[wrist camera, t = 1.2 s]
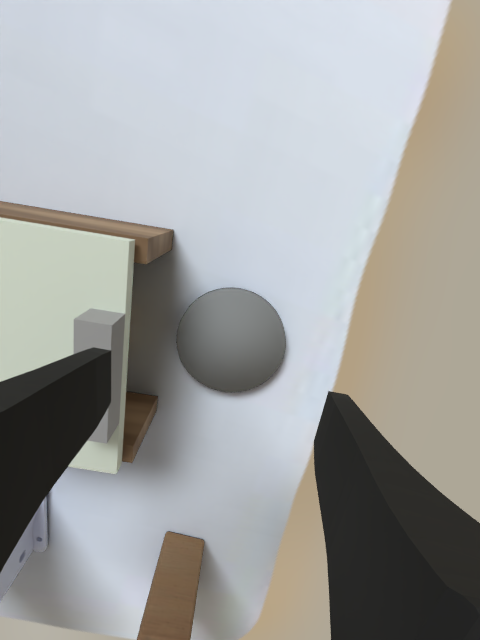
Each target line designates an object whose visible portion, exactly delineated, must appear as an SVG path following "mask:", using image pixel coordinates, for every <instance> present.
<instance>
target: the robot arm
mask: <svg viewBox="0 0 480 640" xmlns="http://www.w3.org/2000/svg"><path fill="white" fill-rule="evenodd" d="M110 403H111V350H105V349H100V348H95V347H93V348H90V349H86V350H84V351H81V352H78V353H75V354H73V355H70V356H68V357H65V358H63V359H60V360H58V361H55V362H53V363H50V364H47V365H45V366H42V367H40V368H37V369H35V370H32V371H29V372H26V373H23V374H21V375H18V376H15V377H12V378H9V379H7V380H4V381H1V382H0V602H1V600H2V599H3V597H4V595H5V594H6V592H7V591H8V589H9V588H10V586H11V584H12V583H13V581H14V580H15V578H16V577H17V575H18V573H19V572H20V570H21V569H22V567H23V565H24V564H25V562H26V561H27V559H28V558H29V556H30V554H31V553H32V551H36V552H44V551H45V550H46V548H47V546H48V535H47V498H46V495H47V494H48V493H49V491H50V490H51V488H52V487H53V485H54V484H55V483H56V481H57V480H58V479H59V477H60V476H61V475H62V473H63V472H64V471H65V470H66V468H67V467H68V466H69V464H70V463H71V462H72V460H73V459H74V458H75V456H76V455H77V454H78V452H79V451H80V450H81V448H82V447H83V446H84V444H85V443H86V442H87V440H88V439H89V438H90V436H91V435H92V434H93V432H94V431H95V429H96V428H97V427H98V425H99V423H100V421H101V420H102V418H103V416H104V414H105V413H106V411H107V409H108V407H109V405H110ZM314 465H315V476H316V482H317V490H318V497H319V503H320V510H321V516H322V522H323V529H324V535H325V542H326V552H327V563H328V579H329V599H330V624H331V640H480V523H479V522H477V521H476V520H475V519H473V518H472V517H471V516H470V515H468V514H467V513H466V512H464V511H463V510H462V509H460V508H459V507H458V506H457V505H455V504H454V503H453V502H452V501H450V500H449V499H448V498H447V497H446V496H444V495H443V494H442V493H441V492H440V491H438V490H437V489H436V488H435V487H434V486H433V485H432V484H431V483H429V482H428V481H427V480H426V479H425V478H424V477H423V476H422V475H420V474H419V473H418V472H417V471H416V470H415V469H414V468H413V467H412V466H411V465H410V464H409V463H408V462H407V461H406V460H405V459H404V458H403V457H402V456H401V455H400V454H399V453H398V452H397V451H396V450H395V449H394V448H393V447H392V445H390V443H389V442H388V441H387V440H386V439H385V438H384V437H383V436H382V435H381V433H380V432H379V431H378V430H377V429H376V428H375V426H374V425H373V424H372V423H371V422H370V420H369V419H368V418H367V417H366V416H365V415H364V413H363V412H362V411H361V410H360V408H359V407H358V406H357V405H356V404H355V403H354V401H353V400H352V399H351V398H350V397H349V396H348V395H346V394H341V393H335V392H330V391H328V395H327V398H326V402H325V405H324V409H323V412H322V416H321V419H320V422H319V426H318V429H317V433H316V436H315V440H314Z"/></svg>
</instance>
